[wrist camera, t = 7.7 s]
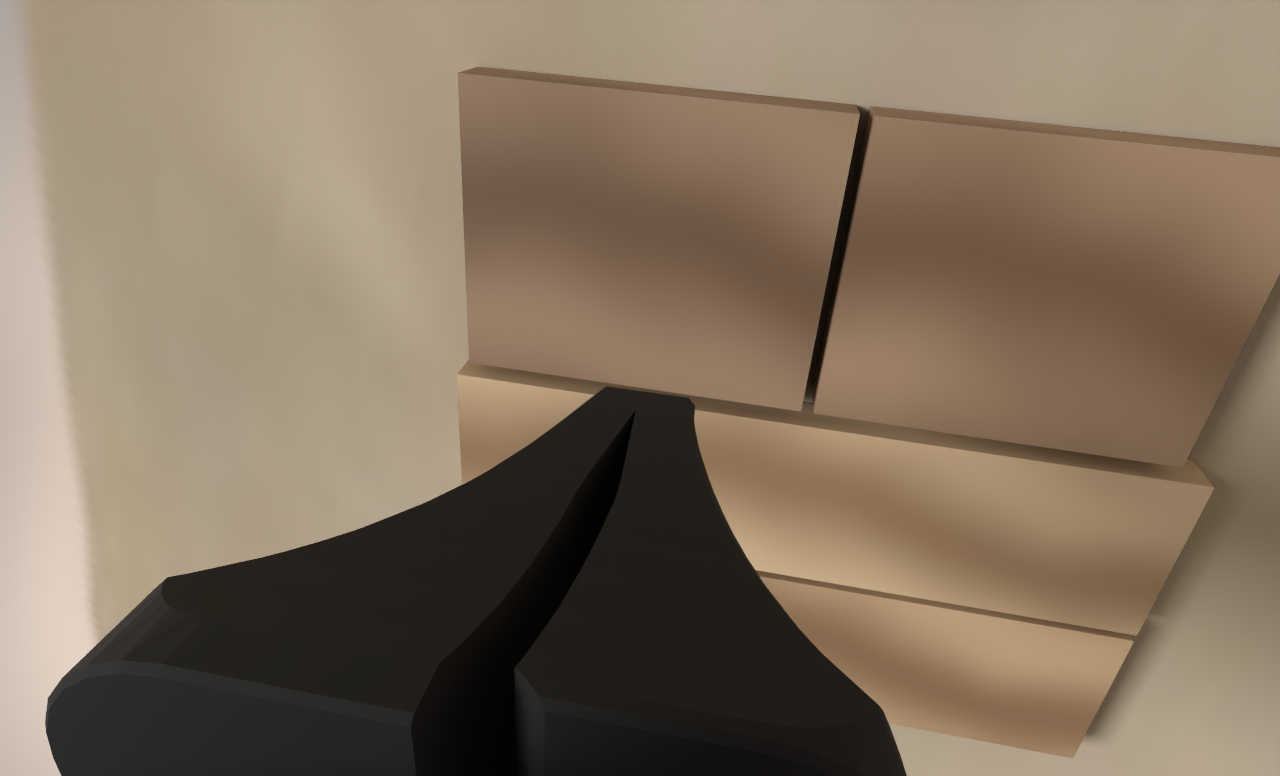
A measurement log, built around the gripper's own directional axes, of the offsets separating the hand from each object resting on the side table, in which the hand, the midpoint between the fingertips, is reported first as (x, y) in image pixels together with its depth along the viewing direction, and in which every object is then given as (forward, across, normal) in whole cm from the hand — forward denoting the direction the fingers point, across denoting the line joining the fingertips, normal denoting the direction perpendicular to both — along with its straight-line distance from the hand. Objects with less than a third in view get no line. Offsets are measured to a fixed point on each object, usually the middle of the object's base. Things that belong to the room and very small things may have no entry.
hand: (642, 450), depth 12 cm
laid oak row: (+9, -3, +8) cm, 13 cm away
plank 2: (+9, -7, 0) cm, 11 cm away
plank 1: (+9, +1, 0) cm, 9 cm away
